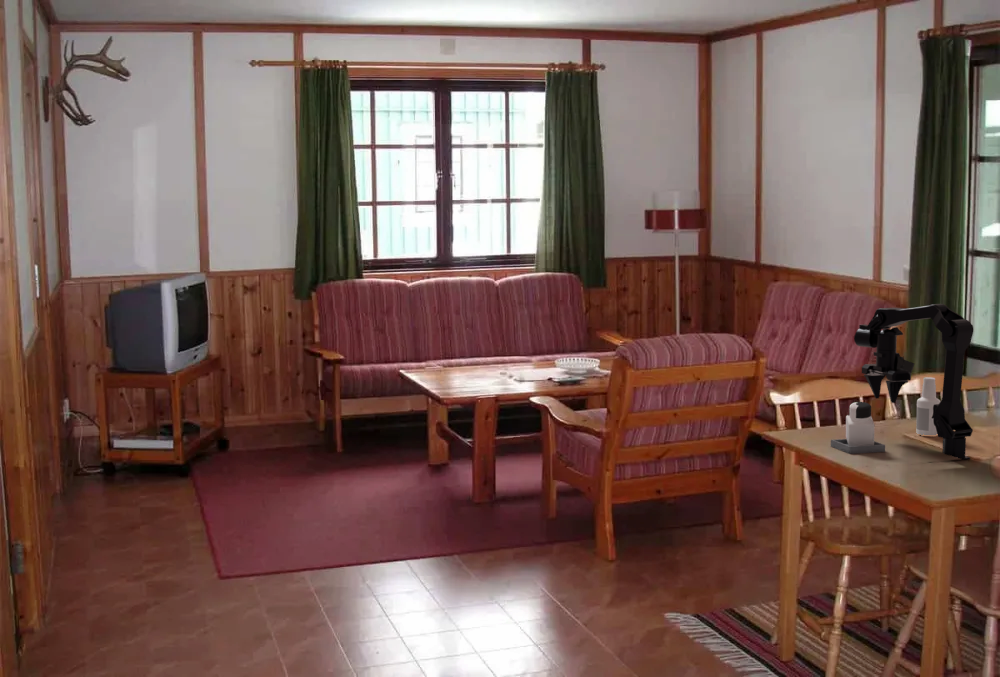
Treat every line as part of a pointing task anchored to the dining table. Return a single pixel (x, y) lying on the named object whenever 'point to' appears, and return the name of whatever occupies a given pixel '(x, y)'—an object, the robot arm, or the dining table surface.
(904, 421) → the dining table surface
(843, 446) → the tray
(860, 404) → the medicine bottle
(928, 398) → the spray bottle
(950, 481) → the dining table surface
